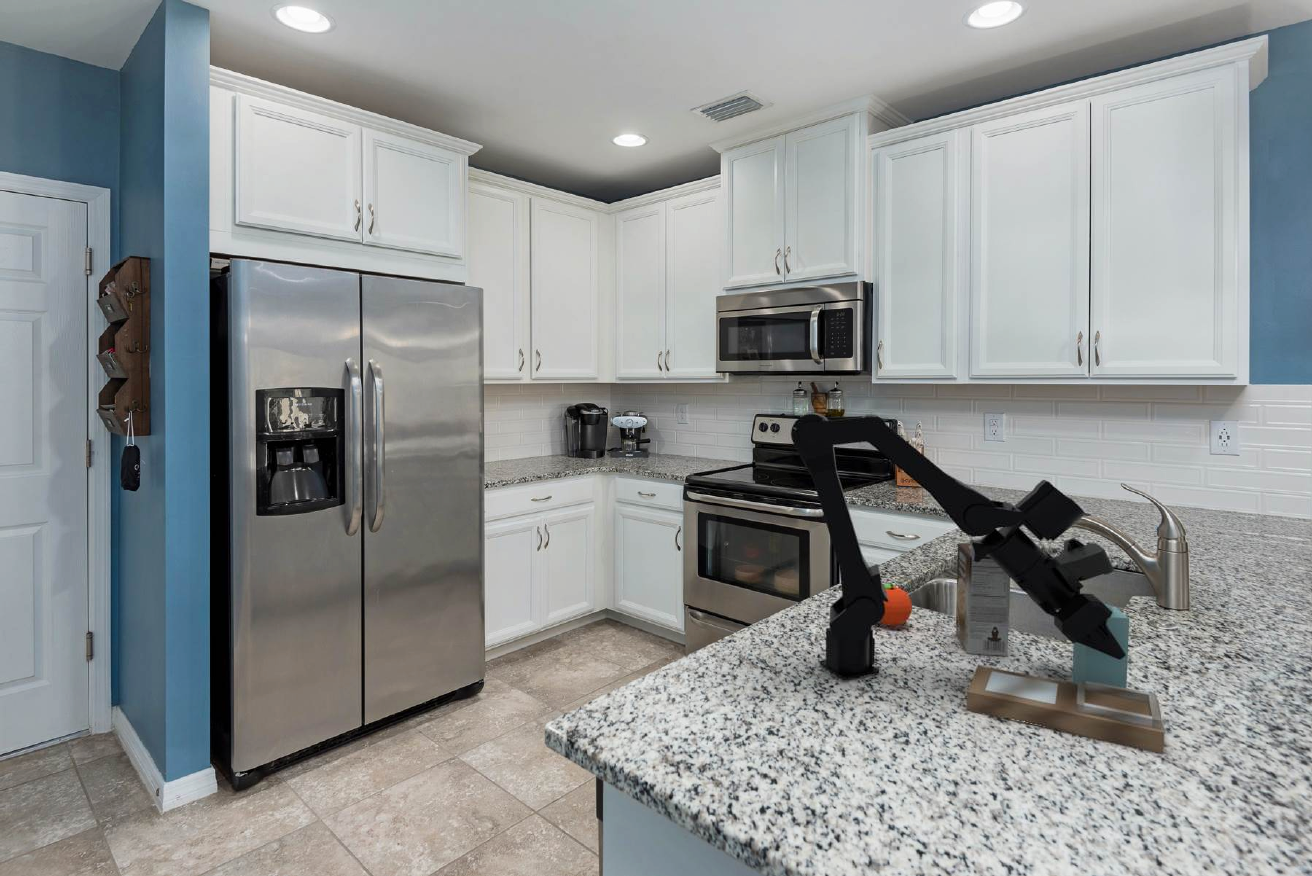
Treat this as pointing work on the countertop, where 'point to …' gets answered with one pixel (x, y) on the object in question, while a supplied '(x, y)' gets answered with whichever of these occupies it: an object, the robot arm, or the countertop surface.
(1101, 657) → the teal pillar
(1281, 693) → the countertop surface
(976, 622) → the coffee box
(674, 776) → the countertop surface
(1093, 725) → the walnut base plate
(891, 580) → the countertop surface
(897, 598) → the clementine
